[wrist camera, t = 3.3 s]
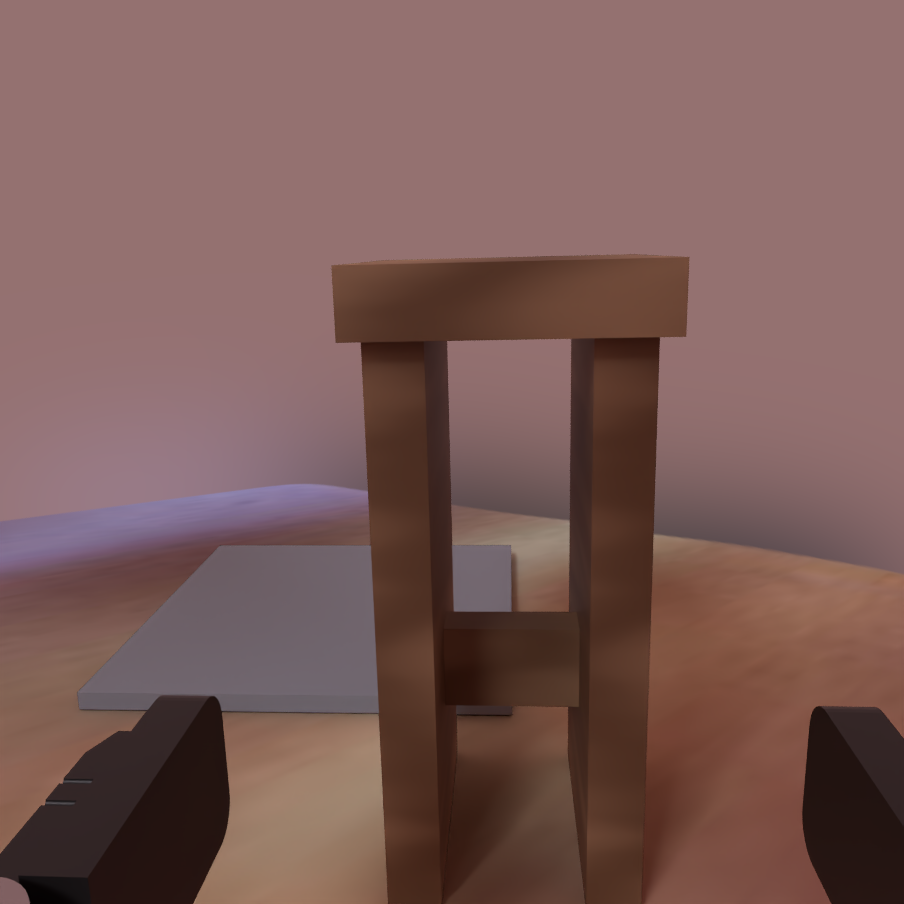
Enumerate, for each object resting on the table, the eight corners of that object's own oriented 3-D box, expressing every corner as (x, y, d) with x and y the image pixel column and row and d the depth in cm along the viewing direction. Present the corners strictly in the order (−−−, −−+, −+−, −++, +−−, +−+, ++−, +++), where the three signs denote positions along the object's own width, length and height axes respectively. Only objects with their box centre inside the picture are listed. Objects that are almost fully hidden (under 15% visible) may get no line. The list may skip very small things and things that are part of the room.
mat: (79, 709, 28) (77, 692, 27) (221, 557, 41) (219, 545, 41) (512, 714, 27) (511, 697, 27) (511, 557, 40) (511, 545, 40)
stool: (367, 916, 19) (331, 265, 15) (404, 742, 25) (384, 260, 22) (662, 925, 18) (689, 257, 15) (622, 745, 25) (634, 254, 22)
